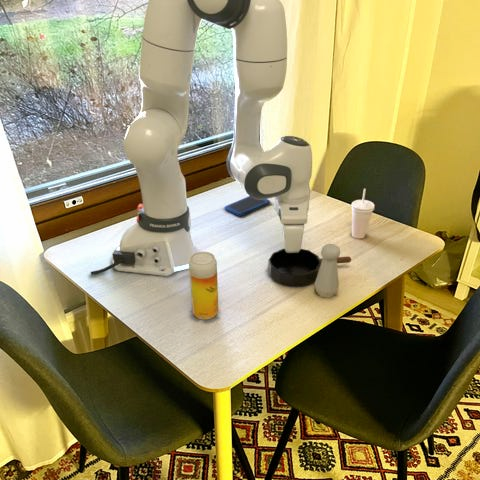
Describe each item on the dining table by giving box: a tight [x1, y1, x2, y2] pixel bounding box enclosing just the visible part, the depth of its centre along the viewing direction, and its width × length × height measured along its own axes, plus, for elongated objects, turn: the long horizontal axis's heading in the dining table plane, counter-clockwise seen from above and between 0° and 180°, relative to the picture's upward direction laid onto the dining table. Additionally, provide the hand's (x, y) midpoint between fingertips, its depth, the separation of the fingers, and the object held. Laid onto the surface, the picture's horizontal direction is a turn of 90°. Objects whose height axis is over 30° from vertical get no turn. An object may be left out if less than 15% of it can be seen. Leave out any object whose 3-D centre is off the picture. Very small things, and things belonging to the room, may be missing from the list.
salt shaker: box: [314, 243, 341, 299], centre depth 123 cm, size 6×6×13 cm
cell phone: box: [224, 195, 271, 217], centre depth 165 cm, size 7×14×1 cm, turn 134°
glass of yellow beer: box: [188, 251, 220, 321], centre depth 116 cm, size 6×6×15 cm
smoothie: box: [350, 188, 376, 239], centre depth 145 cm, size 6×6×14 cm
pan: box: [267, 248, 352, 288], centre depth 134 cm, size 21×13×4 cm, turn 98°
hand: (288, 250), depth 139 cm, fingers closed
